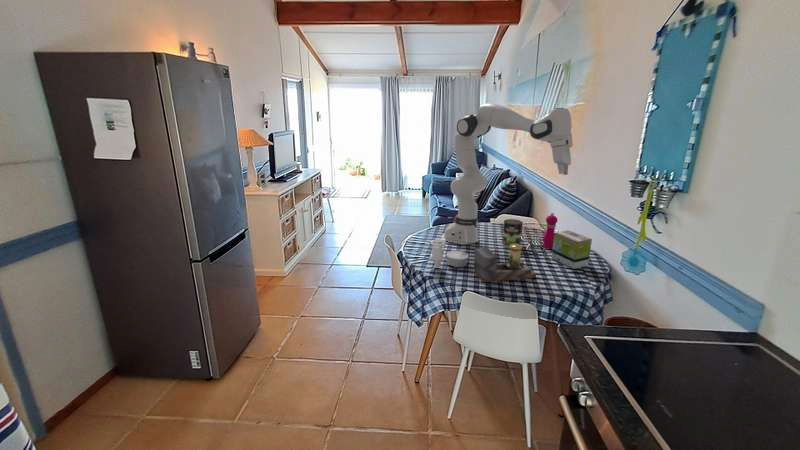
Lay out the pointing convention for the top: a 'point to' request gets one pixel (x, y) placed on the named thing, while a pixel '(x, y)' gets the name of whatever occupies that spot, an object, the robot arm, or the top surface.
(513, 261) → the knob
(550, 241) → the pepper mill
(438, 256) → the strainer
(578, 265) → the tea box
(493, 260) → the rail mount
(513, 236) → the coffee can
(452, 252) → the ramekin
